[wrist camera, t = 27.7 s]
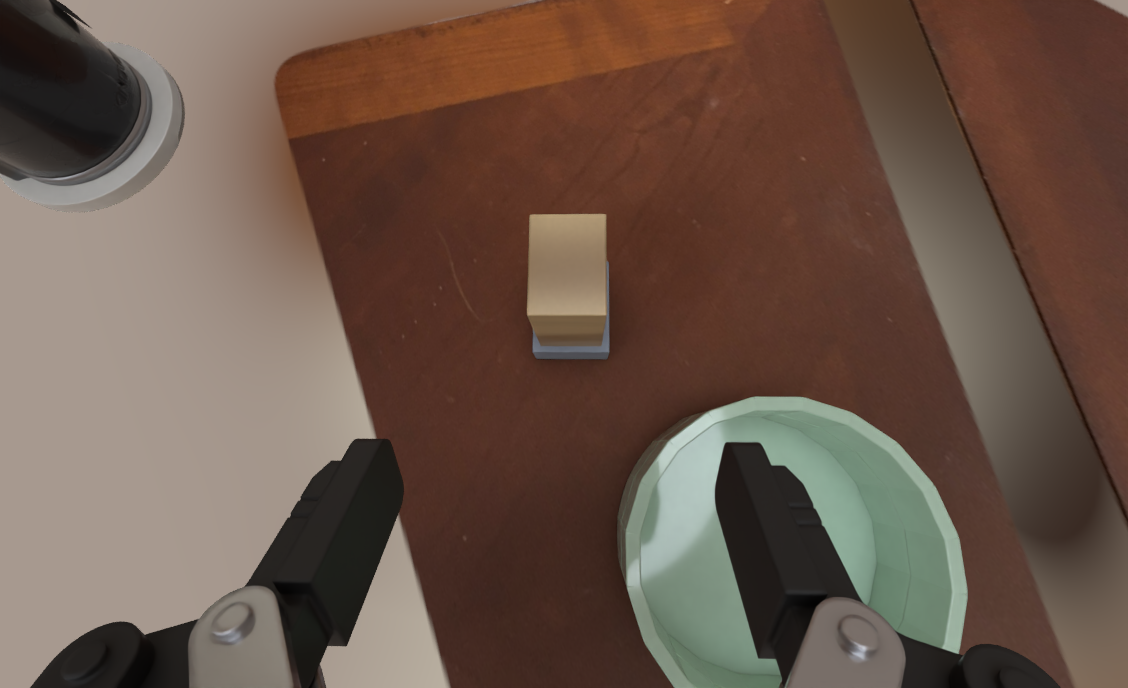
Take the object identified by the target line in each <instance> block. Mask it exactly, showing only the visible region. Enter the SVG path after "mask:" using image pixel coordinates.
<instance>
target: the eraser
mask: <svg viewBox="0 0 1128 688" xmlns="http://www.w3.org/2000/svg"><path fill="white" fill-rule="evenodd" d="M527 316H528V318H529V321H530V323H531V325H532V327H533V353H534V355H535V357H536V359H608V355H609V263H608V262H607V248H606V214H541V215H530V219H529V253H528V287H527Z"/></svg>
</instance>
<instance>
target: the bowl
mask: <svg viewBox="0 0 1128 688" xmlns="http://www.w3.org/2000/svg"><path fill="white" fill-rule="evenodd" d="M726 442H759V443H761V444H762V446H763V448H764V450H765V452H766V454H767V457H768V459H769V461H770V463H771V465H785V466H786V467H787V468H788V469H789V470H790V471H791V472H792V473H793V474H794V475H795V476H796V477H797V478H798V479H799V480H800V481H801V482H802V483H803V484H804V486H805V488H806V490H807V492H808V494H809V496H810V498H811V500H812V502H813V507H814V509H816V510H817V512H818V515H819V517H820V519H821V521H822V526H824V527H825V529H826V531H827V533H828V535H829V537H830V539H831V541H832V543H833V545H834V547H835V549H836V551H837V553H838V555H839V557H840V559H841V561H842V563H843V565H844V567H845V569H846V571H847V573H848V575H849V577H850V579H851V581H852V583H853V585H854V587H855V589H856V591H857V593H858V595H859V597H860V598H861V600H862V601H863V603H864V604H865V605H867V606H869V607H870V608H872V609H874V610H875V611H876V612H878V613H879V614H880V615H881V616H882V617H883V618H884V619H885V620H887V621H888V623H889V624H890V625H891V626H892V627H893V629H894V630H895V631H897V632H899V633H901V634H903V635H905V636H907V637H909V638H912V639H915V640H918V641H921V642H924V643H927V644H930V645H933V646H936V647H939V648H942V649H945V650H948V651H951V652H954V653H957V654H959V651H958V650H960V644H961V638H962V631H963V625H964V618H965V612H966V605H967V599H968V595H966V594H968V591H967V584H966V578H965V571H964V565H963V559H962V552H961V546H960V540H959V538H958V537H959V536H958V534H957V532H956V530H955V527H954V525H953V523H952V521H951V519H950V517H949V515H948V513H947V510H946V508H945V506H944V504H943V502H942V500H941V498H940V496H939V493H938V491H937V489H936V487H935V486H934V484H933V483H932V482H931V481H930V479H929V478H928V477H927V476H926V475H925V474H924V472H923V471H922V470H921V469H920V468H919V467H918V465H917V464H916V463H915V462H914V461H913V460H912V459H911V457H910V456H909V455H908V454H907V453H906V452H905V450H904V449H903V448H902V447H901V446H900V445H899V444H898V443H897V442H896V441H895V440H893V439H892V438H890V437H889V436H887V435H886V434H884V433H883V432H881V431H880V430H878V429H877V428H875V427H873V426H872V425H870V424H869V423H867V422H866V421H864V420H863V419H861V418H860V417H858V416H857V415H855V414H854V413H852V412H850V411H846V410H843V409H840V408H837V407H834V406H830V405H827V404H824V403H821V402H818V401H815V400H811V399H808V398H805V397H750V398H747V399H743V400H740V401H736V402H733V403H729V404H726V405H723V406H719V407H716V408H713V409H710V410H707V411H704V412H700V413H698V414H694V415H691V416H688V417H685V418H683V419H682V420H680V421H679V422H678V423H676V424H675V425H673V426H671V427H670V428H669V429H667V430H666V431H665V432H663V433H662V434H661V435H660V436H658V437H657V438H656V439H655V440H654V441H653V442H652V443H651V444H650V445H649V446H648V448H647V449H646V450H645V452H644V453H643V454H642V455H641V457H640V458H639V459H638V461H637V463H636V465H635V466H634V468H633V470H632V472H631V473H630V475H629V478H628V480H627V483H626V485H625V488H624V491H623V494H622V498H621V502H620V506H619V511H618V516H617V519H618V522H617V544H618V559H619V564H620V567H621V571H622V574H623V577H624V581H625V584H626V587H627V591H628V594H629V597H630V600H631V603H632V606H633V610H634V613H635V616H636V619H637V622H638V625H639V629H640V632H641V635H642V638H643V641H644V643H645V645H646V646H647V648H648V649H649V651H650V652H651V654H652V655H653V657H654V658H655V660H656V661H657V663H658V664H659V666H660V667H661V669H662V670H663V672H664V673H665V675H666V676H667V678H668V679H669V681H670V682H671V684H672V685H673V687H674V688H778V685H779V683H780V681H781V679H782V677H781V674H780V671H779V667H778V664H777V661H776V659H758V656H757V653H756V649H755V646H754V642H753V639H752V635H751V632H750V628H749V624H748V621H747V617H746V614H745V610H744V607H743V603H742V600H741V596H740V593H739V589H738V585H737V582H736V578H735V575H734V571H733V568H732V564H731V561H730V557H729V554H728V550H727V546H726V543H725V539H724V536H723V532H722V529H721V525H720V522H719V518H718V515H717V511H716V505H715V484H716V479H717V475H718V470H719V465H720V461H721V456H722V452H723V447H724V445H725V443H726Z"/></svg>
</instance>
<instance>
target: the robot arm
mask: <svg viewBox="0 0 1128 688" xmlns="http://www.w3.org/2000/svg"><path fill="white" fill-rule="evenodd" d="M64 11H65V12H64ZM67 13H68V14H70V15H71V16H73V17H74V18H76V19H77V20H79V21H81V22H82V23H84V24H85V25H87V24H86V23H85V22H83V21H82V20H81V19H80V18H79V17H78V16H77V15H75V14H74V13H73V12H72V11H71V10H69V9H68V8H67V7H66V6H64V5H63V4H61V3H60V2H58V1H57V0H0V174H2V175H4V176H6V177H9V178H11V179H13V180H15V181H19V180H23V179H26V178H32V179H34V180H37V181H39V182H42V183H45V184H49V185H57V186H68V185H76V184H81V183H85V182H88V181H91V180H94V179H96V178H99V177H101V176H103V175H105V174H107V173H108V172H110V171H112V170H113V169H115V168H116V167H117V166H119V165H120V164H121V163H122V162H124V161H125V160H126V159H127V158H128V157H129V156H130V155H131V154H132V153H133V151H134V150H135V149H136V148H137V146H138V145H139V144H140V142H141V140H142V139H143V137H144V135H145V133H146V131H147V129H148V126H149V123H150V119H151V114H152V97H151V92H150V89H149V86H148V84H147V82H146V81H145V79H144V77H143V76H142V75H141V74H140V73H139V72H138V71H137V70H136V69H135V68H134V67H132V66H131V65H130V64H129V63H128V62H126V61H125V60H124V59H122V58H121V57H119V56H117V55H116V54H115V53H114V52H113V51H111V50H110V49H109V48H107V47H106V46H105V45H104V44H102V43H101V42H100V41H98V39H96V38H95V37H94V36H92V34H90V33H89V32H88V31H87V30H86V29H84V28H83V27H82V26H81V25H80V24H78V23H77V22H76V21H75V20H74V19H73V18H71V17H70V16H69V15H68V14H67ZM87 26H88V25H87ZM88 27H89V26H88ZM403 493H404V486H403V480H402V476H401V473H400V470H399V467H398V463H397V460H396V457H395V454H394V450H393V447H392V444H391V442H390V441H389V440H388V439H355V440H354V441H353V442H352V443H351V444H350V446H349V448H348V449H347V451H346V453H345V455H344V457H343V458H342V460H341V461H331V462H330V463H329V464H327V465H326V466H325V467H324V468H323V469H322V470H321V471H319V472H318V473H317V474H316V475H315V476H314V477H313V478H312V479H311V481H310V483H309V484H308V486H307V487H306V489H305V491H304V492H303V494H302V496H301V500H300V501H298V502H297V504H296V505H295V507H294V509H293V510H292V512H291V516H290V518H287V520H286V522H285V523H284V525H283V526H282V528H281V530H280V531H279V533H278V535H277V536H276V538H275V540H274V541H273V543H272V545H271V546H270V548H269V549H268V551H267V553H266V554H265V556H264V557H263V559H262V561H261V562H260V564H259V565H258V567H257V569H256V570H255V572H254V573H253V575H252V577H251V579H250V580H249V582H248V583H247V584H246V585H245V587H243V588H240V589H237V590H235V591H233V592H230V593H229V594H227V595H225V596H223V597H222V598H221V599H219V600H218V601H216V602H215V603H214V604H213V605H212V606H210V608H208V609H207V610H206V611H205V612H204V614H203V615H202V616H201V617H200V619H197V620H194V621H191V622H187V623H184V624H180V625H177V626H174V627H170V628H166V629H163V630H160V631H156V632H153V633H149V634H146V635H144V634H143V633H142V632H141V631H140V630H139V629H138V628H137V627H136V626H135V625H133V624H132V623H128V622H113V623H109V624H106V625H103V626H100V627H98V628H95V629H94V630H91V631H90V632H88V633H86V634H84V635H82V636H81V637H79V638H78V639H76V640H75V641H74V642H72V643H71V644H70V645H68V646H67V647H66V648H65V649H63V650H62V651H61V652H60V653H59V654H58V655H57V656H56V657H55V658H54V659H53V660H52V661H51V663H50V664H49V665H48V666H47V667H46V669H45V670H44V671H43V672H42V674H41V675H40V676H39V677H38V679H37V680H36V681H35V682H34V684H33V685H32V686H31V687H30V688H326V685H325V681H324V677H323V673H322V669H321V666H320V662H321V659H322V657H323V655H324V653H325V650H326V648H327V646H347V644H348V642H349V639H350V637H351V634H352V631H353V629H354V626H355V624H356V621H357V619H358V616H359V613H360V611H361V608H362V606H363V603H364V600H365V598H366V595H367V593H368V590H369V587H370V585H371V582H372V580H373V577H374V575H375V572H376V570H377V567H378V564H379V562H380V559H381V557H382V554H383V552H384V549H385V547H386V544H387V541H388V539H389V536H390V534H391V531H392V529H393V526H394V523H395V521H396V518H397V516H398V513H399V511H400V508H401V505H402V501H403ZM715 505H716V511H717V515H718V518H719V522H720V525H721V529H722V532H723V536H724V539H725V543H726V546H727V550H728V554H729V557H730V561H731V564H732V568H733V571H734V575H735V578H736V582H737V585H738V589H739V593H740V596H741V600H742V603H743V607H744V610H745V614H746V617H747V621H748V624H749V628H750V632H751V635H752V639H753V642H754V646H755V649H756V653H757V656H758V659H776V661H777V664H778V667H779V671H780V674H781V677H782V679H781V681H780V683H779V685H778V688H1061V687H1060V686H1059V685H1058V684H1057V683H1056V682H1055V681H1054V680H1053V679H1052V678H1051V677H1050V676H1049V675H1048V674H1047V673H1046V672H1045V671H1044V670H1042V669H1041V668H1040V667H1038V666H1037V665H1036V664H1035V663H1033V662H1032V661H1030V660H1029V659H1027V658H1026V657H1024V656H1022V655H1020V654H1018V653H1016V652H1014V651H1012V650H1010V649H1007V648H1004V647H1001V646H998V645H992V644H980V645H975V646H973V647H971V648H970V649H969V650H968V651H967V652H966V653H965V654H964V655H960V654H957V653H954V652H951V651H948V650H945V649H942V648H939V647H936V646H933V645H930V644H927V643H924V642H921V641H918V640H915V639H912V638H909V637H907V636H905V635H903V634H901V633H899V632H897V631H895V630H894V629H893V627H892V626H891V625H890V624H889V623H888V621H887V620H885V619H884V618H883V617H882V616H881V615H880V614H879V613H878V612H876V611H875V610H874V609H872V608H870V607H869V606H867V605H865V604H864V603H863V601H862V600H861V598H860V597H859V595H858V593H857V591H856V589H855V587H854V585H853V583H852V581H851V579H850V577H849V575H848V573H847V571H846V569H845V567H844V565H843V563H842V561H841V559H840V557H839V555H838V553H837V551H836V549H835V547H834V545H833V543H832V541H831V539H830V537H829V535H828V533H827V531H826V529H825V527H824V526H822V521H821V519H820V517H819V515H818V512H817V510H816V509H814V507H813V502H812V500H811V498H810V496H809V494H808V492H807V490H806V488H805V486H804V484H803V483H802V482H801V481H800V480H799V479H798V478H797V477H796V476H795V475H794V474H793V473H792V472H791V471H790V470H789V469H788V468H787V467H786V466H785V465H771V463H770V461H769V459H768V457H767V454H766V452H765V450H764V448H763V446H762V444H761V443H759V442H726V443H725V445H724V447H723V452H722V456H721V461H720V465H719V470H718V475H717V479H716V484H715Z"/></svg>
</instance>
